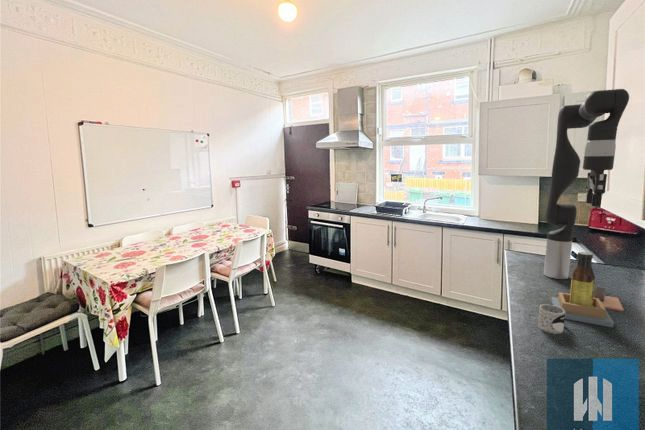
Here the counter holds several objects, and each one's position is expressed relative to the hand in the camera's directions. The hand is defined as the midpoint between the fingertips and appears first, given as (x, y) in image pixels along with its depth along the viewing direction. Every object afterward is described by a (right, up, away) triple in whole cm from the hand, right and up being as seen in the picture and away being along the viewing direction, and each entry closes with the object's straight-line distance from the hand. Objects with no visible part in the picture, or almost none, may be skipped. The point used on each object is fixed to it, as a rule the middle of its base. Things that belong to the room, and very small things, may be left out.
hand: (592, 204), depth 107 cm
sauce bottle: (0, -36, +6) cm, 37 cm away
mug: (-15, -40, -3) cm, 43 cm away
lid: (+15, -36, +15) cm, 42 cm away
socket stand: (0, -38, +6) cm, 38 cm away
